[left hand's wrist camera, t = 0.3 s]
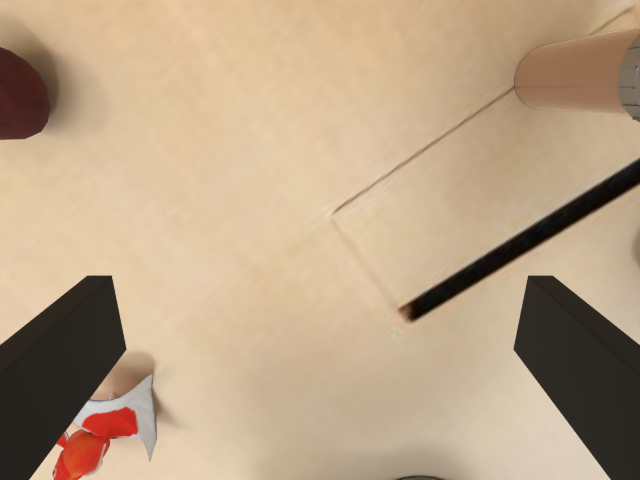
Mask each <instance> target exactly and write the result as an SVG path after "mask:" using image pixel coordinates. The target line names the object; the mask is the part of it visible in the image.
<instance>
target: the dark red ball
mask: <svg viewBox="0 0 640 480" xmlns="http://www.w3.org/2000/svg"><path fill="white" fill-rule="evenodd" d="M49 110H50V107H49V101H48V95H47V90H46V88H45V86H44V84H43V82H42V80H41V78H40V75H39V73H38V72H37V71H36V70H35V69H34V68H33V67H32V66H31V65H30V64H29V63H28V62H26V61H25V60H23V59H22V58H20V57H19V56H17V55H16V54H14V53H13V52H11V51H9V50H6V49H4V48H1V47H0V140H6V139H26V138H28V137H30V136H33V135H35V134H37V133H39V132H41V131H42V129H43V128H44V126H45V125H46V123H47V122H48V116H49Z"/></svg>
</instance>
